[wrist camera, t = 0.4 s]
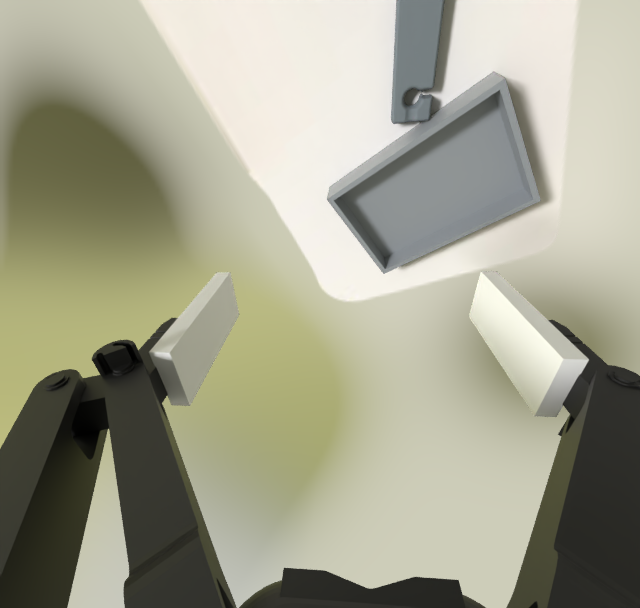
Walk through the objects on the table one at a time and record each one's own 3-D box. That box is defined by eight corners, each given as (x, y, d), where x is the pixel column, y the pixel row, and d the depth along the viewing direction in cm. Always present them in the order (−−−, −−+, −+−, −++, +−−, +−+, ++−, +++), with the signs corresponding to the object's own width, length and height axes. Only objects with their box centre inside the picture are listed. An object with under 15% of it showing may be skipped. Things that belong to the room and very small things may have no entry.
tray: (493, 71, 29) (505, 78, 26) (529, 187, 36) (540, 200, 34) (329, 187, 39) (326, 199, 37) (382, 259, 46) (383, 273, 44)
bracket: (444, -25, 25) (448, -27, 24) (427, 115, 33) (430, 121, 31) (396, -17, 26) (398, -18, 24) (390, 119, 33) (391, 124, 32)
